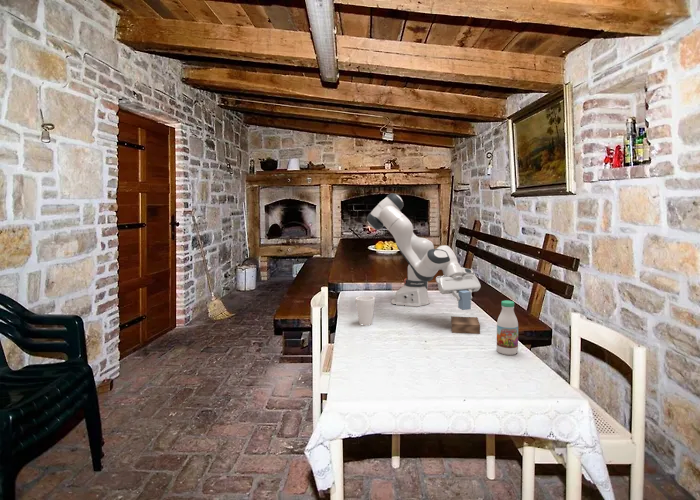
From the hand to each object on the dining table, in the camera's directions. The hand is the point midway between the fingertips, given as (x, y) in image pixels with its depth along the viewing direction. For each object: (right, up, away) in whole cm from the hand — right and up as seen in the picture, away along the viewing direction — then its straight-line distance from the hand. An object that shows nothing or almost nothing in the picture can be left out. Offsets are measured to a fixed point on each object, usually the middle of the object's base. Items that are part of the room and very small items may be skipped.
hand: (465, 299), depth 176 cm
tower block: (0, -4, +1) cm, 4 cm away
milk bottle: (+9, -17, -26) cm, 32 cm away
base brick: (+1, -14, +2) cm, 14 cm away
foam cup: (-45, -14, +15) cm, 49 cm away
